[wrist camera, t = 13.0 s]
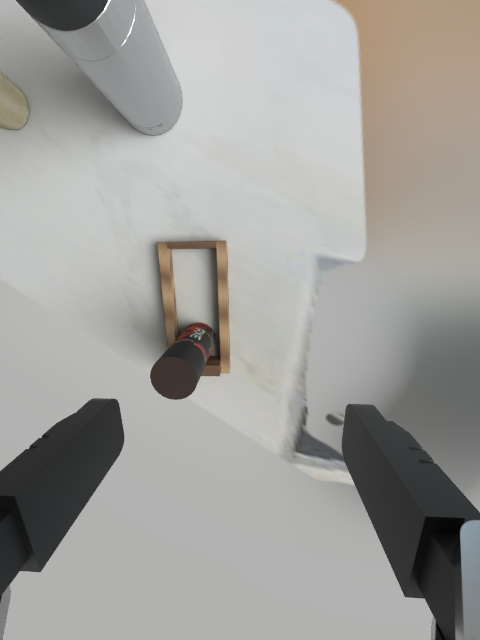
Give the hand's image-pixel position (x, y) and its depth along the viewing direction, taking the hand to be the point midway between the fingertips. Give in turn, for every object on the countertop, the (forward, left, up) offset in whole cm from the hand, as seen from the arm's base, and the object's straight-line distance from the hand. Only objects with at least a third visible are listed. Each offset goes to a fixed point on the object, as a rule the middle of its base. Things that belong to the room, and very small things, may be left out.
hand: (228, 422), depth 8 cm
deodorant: (+9, -9, -34) cm, 37 cm away
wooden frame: (+4, -9, -34) cm, 35 cm away
